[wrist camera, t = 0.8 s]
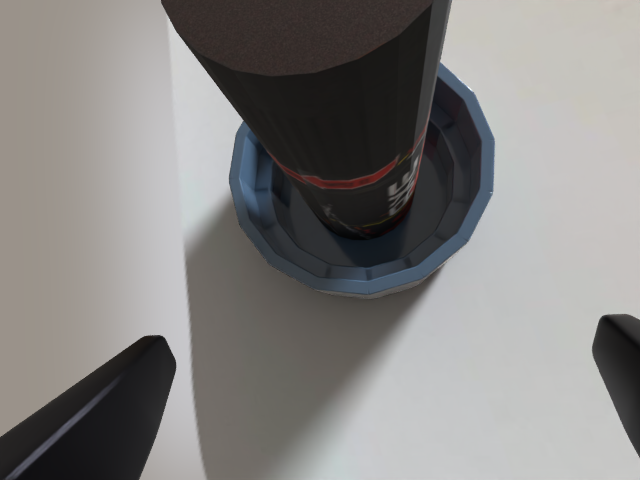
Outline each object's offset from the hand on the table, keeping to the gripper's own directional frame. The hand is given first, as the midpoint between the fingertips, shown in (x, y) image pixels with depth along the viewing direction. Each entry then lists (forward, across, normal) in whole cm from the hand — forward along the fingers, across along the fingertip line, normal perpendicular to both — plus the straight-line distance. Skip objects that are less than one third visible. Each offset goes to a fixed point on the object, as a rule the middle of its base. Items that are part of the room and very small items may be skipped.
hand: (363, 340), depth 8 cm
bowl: (+15, 0, +3) cm, 15 cm away
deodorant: (+14, 0, +3) cm, 15 cm away
